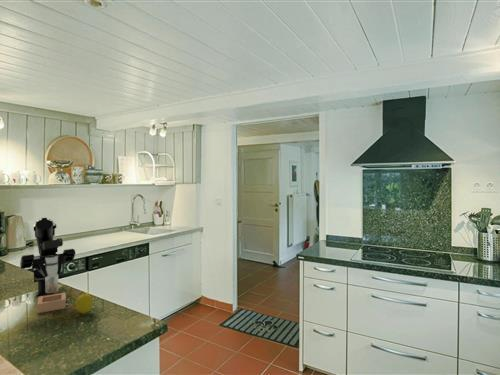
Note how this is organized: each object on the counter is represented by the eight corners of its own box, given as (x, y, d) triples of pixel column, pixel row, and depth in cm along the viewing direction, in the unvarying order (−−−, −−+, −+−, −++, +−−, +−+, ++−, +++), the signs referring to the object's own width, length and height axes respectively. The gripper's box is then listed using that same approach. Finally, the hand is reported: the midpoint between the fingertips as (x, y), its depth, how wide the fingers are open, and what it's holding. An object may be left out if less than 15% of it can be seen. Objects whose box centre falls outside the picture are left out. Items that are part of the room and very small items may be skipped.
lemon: (72, 315, 115) (72, 294, 115) (86, 310, 120) (86, 289, 120) (82, 318, 112) (81, 296, 112) (95, 312, 117) (95, 292, 117)
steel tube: (45, 290, 125) (45, 256, 125) (58, 288, 127) (58, 255, 127) (44, 294, 121) (44, 258, 120) (58, 292, 123) (58, 257, 123)
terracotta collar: (38, 305, 125) (38, 296, 125) (65, 300, 130) (65, 292, 130) (37, 313, 117) (37, 304, 117) (65, 308, 122) (65, 299, 122)
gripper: (21, 235, 120) (26, 268, 112) (74, 230, 133) (82, 259, 125) (17, 252, 125) (23, 285, 118) (68, 245, 139) (76, 274, 131)
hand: (52, 275), depth 123 cm, fingers closed on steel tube, 4 cm apart
